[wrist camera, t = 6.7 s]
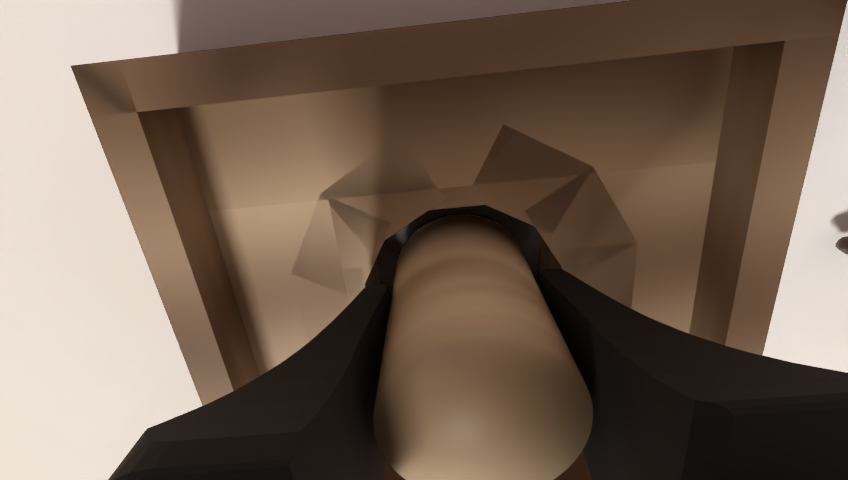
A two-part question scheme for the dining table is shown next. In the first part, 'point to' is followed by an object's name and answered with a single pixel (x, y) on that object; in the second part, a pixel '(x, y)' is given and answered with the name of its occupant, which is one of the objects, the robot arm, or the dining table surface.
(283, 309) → the walnut box
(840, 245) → the tan animal figurine
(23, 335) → the dining table surface
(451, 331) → the oak dowel
